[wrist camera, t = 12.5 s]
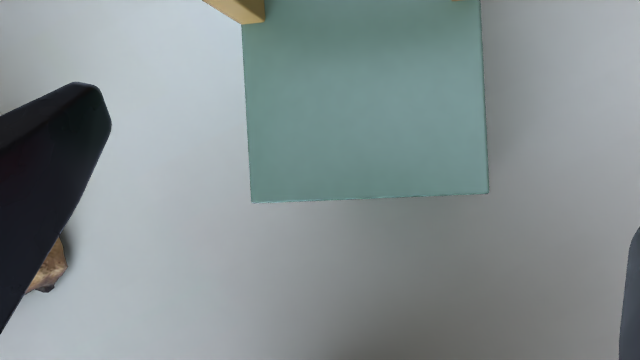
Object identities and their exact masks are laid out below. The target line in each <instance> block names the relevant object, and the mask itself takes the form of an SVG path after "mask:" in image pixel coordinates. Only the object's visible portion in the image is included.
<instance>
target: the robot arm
mask: <svg viewBox="0 0 640 360" xmlns="http://www.w3.org/2000/svg"><path fill="white" fill-rule="evenodd" d="M111 126H112V124H111V118H110V115H109V113H108V110H107V107H106V104H105V101H104V99H103V96H102V93H101V91H100V89H99V88H98V87H97V86H95V85H91V84H86V83H81V82H72V83H69V84H67V85H65V86H63V87H61V88H59V89H57V90H55V91H52V92H50V93H48V94H46V95H44V96H42V97H40V98H38V99H35V100H33V101H31V102H29V103H27V104H25V105H23V106H21V107H18V108H16V109H14V110H12V111H10V112H8V113H6V114H4V115H1V116H0V334H1V333H2V331H3V329H4V328H5V326H6V324H7V323H8V321H9V319H10V318H11V316H12V314H13V313H14V311H15V309H16V308H17V306H18V304H19V302H20V301H21V299H22V297H23V296H24V294H25V292H26V291H27V289H28V287H29V286H30V284H31V282H32V281H33V279H34V277H35V276H36V274H37V272H38V271H39V269H40V267H41V266H42V264H43V262H44V260H45V259H46V257H47V255H48V254H49V252H50V250H51V249H52V247H53V245H54V244H55V242H56V240H57V239H58V237H59V235H60V234H61V232H62V230H63V229H64V227H65V225H66V224H67V222H68V220H69V219H70V217H71V215H72V213H73V212H74V210H75V208H76V206H77V204H78V202H79V200H80V198H81V196H82V194H83V192H84V190H85V188H86V186H87V184H88V181H89V179H90V177H91V175H92V173H93V170H94V168H95V166H96V164H97V162H98V159H99V157H100V155H101V153H102V151H103V148H104V146H105V144H106V142H107V140H108V137H109V135H110V132H111ZM619 360H640V227H639V228H638V230H637V231H636V233H635V235H634V237H633V239H632V241H631V244H630V248H629V255H628V264H627V273H626V282H625V291H624V300H623V309H622V318H621V327H620V338H619Z"/></svg>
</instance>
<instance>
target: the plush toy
mask: <svg viewBox="0 0 640 360" xmlns="http://www.w3.org/2000/svg"><path fill="white" fill-rule="evenodd" d="M67 267H68V266H67V262H66V259H65V256H64V252H63V245H62V242H61V241H60V238H59V237H58V239H57V240H56V242H55V244H54V245H53V247H52V249H51V250H50V252H49V254H48V255H47V257H46V259H45V260H44V262H43V264H42V266H41V267H40V269H39V271H38V272H37V274H36V276H35V277H34V279H33V281H32V282H31V284H30V286H29V287H28V289H27V291H26V292H25V294H27V293H29V292H31V291H32V290H34V289H36V290H39V291H41V292H43V293H48V292H49V291H51V290H52V289H53V288H54V284H55V282H56V281H57V280H58V278H59V277H61V276H62V275H63V273H64V272H65V270H66V269H67ZM25 294H24V295H25Z"/></svg>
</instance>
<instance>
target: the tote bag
mask: <svg viewBox="0 0 640 360" xmlns="http://www.w3.org/2000/svg"><path fill="white" fill-rule="evenodd" d="M202 1H204V2H206V3H207V4H209V5H210V6H212V7H214V8H215V9H217V10H218V11H220V12H222V13H223V14H225V15H227V16H228V17H230V18H231V19H233V20H235V21H236V22H238V23H239V24H241V28H242V45H243V63H244V81H245V99H246V116H247V134H248V152H249V169H250V187H251V202H252V203H277V202H302V201H326V200H350V199H375V198H399V197H423V196H447V195H472V194H488V193H489V191H490V190H489V169H488V149H487V128H486V107H485V86H484V65H483V44H482V23H481V3H480V0H202Z"/></svg>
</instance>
